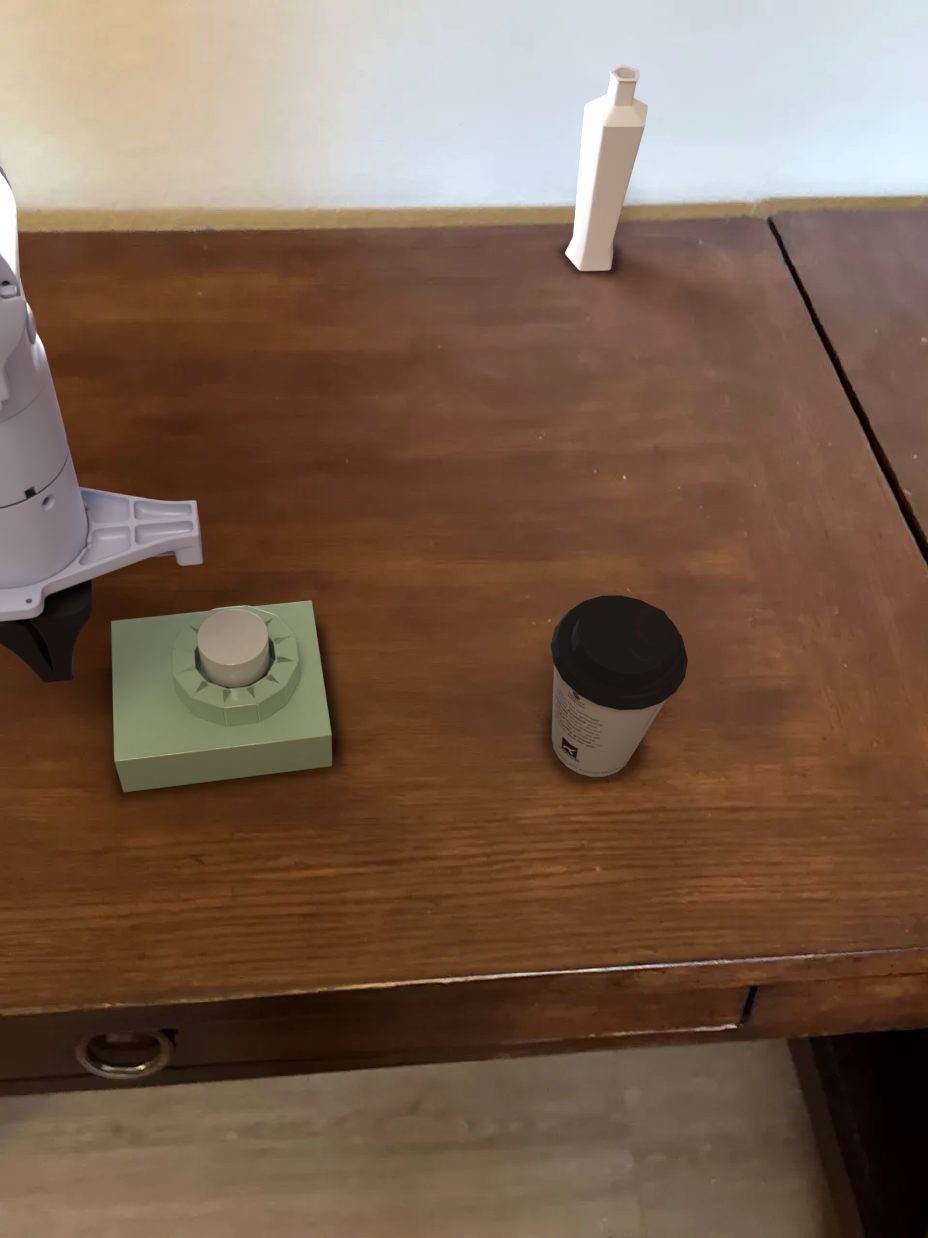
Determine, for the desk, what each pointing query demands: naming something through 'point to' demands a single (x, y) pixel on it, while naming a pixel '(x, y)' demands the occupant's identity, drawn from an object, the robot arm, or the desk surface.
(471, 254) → the desk surface
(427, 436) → the desk surface
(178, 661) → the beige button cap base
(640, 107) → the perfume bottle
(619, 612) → the coffee cup
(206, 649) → the beige button cap
